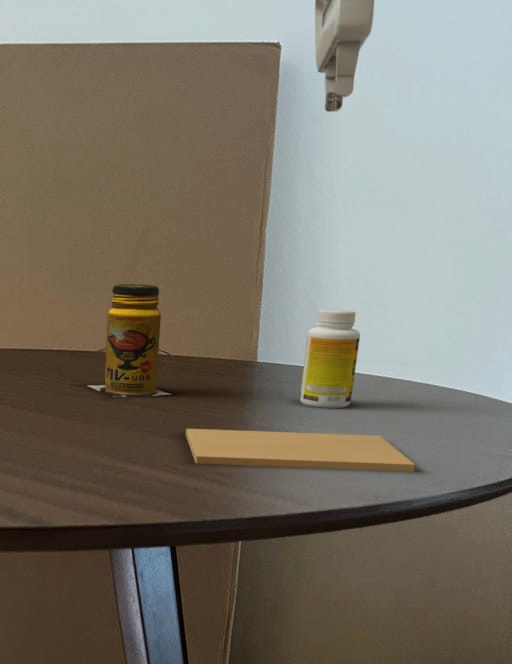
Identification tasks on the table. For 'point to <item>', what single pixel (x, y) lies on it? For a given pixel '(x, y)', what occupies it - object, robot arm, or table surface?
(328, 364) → the supplement bottle
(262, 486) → the table surface
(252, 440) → the wooden board
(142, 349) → the condiment
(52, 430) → the table surface
